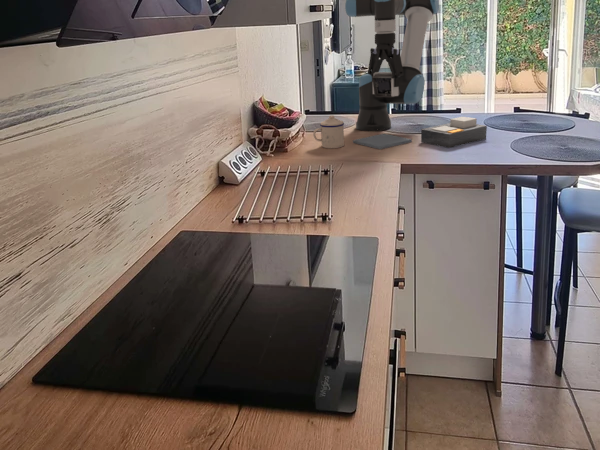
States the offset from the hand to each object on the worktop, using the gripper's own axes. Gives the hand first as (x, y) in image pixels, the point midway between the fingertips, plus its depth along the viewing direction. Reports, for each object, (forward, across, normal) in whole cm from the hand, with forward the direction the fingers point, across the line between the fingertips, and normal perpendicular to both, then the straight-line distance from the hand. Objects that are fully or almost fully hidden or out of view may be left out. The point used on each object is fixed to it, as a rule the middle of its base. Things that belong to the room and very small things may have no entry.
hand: (385, 94), depth 218 cm
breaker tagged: (+15, +18, +13) cm, 27 cm away
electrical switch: (+1, 0, 0) cm, 1 cm away
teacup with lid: (+18, -10, -20) cm, 29 cm away
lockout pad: (+18, 0, -2) cm, 18 cm away
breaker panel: (+18, +18, +18) cm, 31 cm away
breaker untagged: (+13, +18, +23) cm, 32 cm away
